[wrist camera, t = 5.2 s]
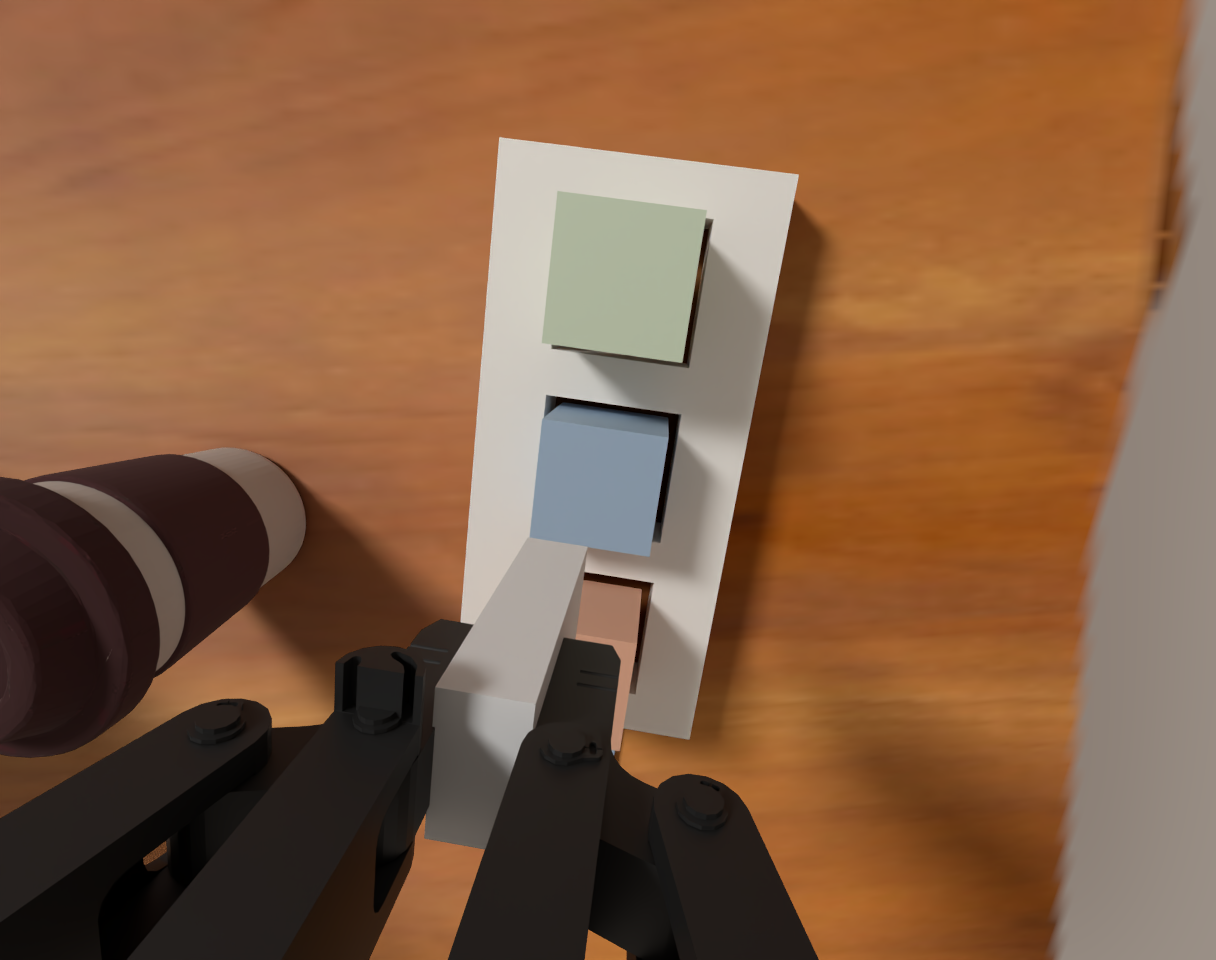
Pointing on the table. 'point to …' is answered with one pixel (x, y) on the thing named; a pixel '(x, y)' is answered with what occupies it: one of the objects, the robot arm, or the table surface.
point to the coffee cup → (126, 581)
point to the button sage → (622, 276)
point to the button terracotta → (612, 635)
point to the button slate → (599, 478)
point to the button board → (628, 392)
